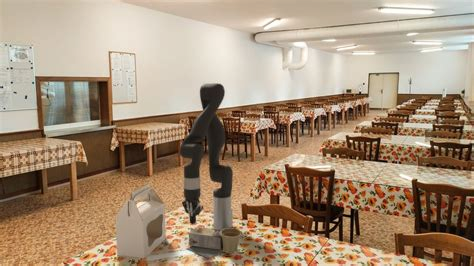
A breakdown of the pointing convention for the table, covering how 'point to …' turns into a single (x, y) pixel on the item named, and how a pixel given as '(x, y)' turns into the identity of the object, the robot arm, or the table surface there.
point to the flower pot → (230, 239)
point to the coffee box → (206, 238)
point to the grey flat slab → (204, 251)
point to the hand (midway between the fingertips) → (192, 223)
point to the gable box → (140, 224)
